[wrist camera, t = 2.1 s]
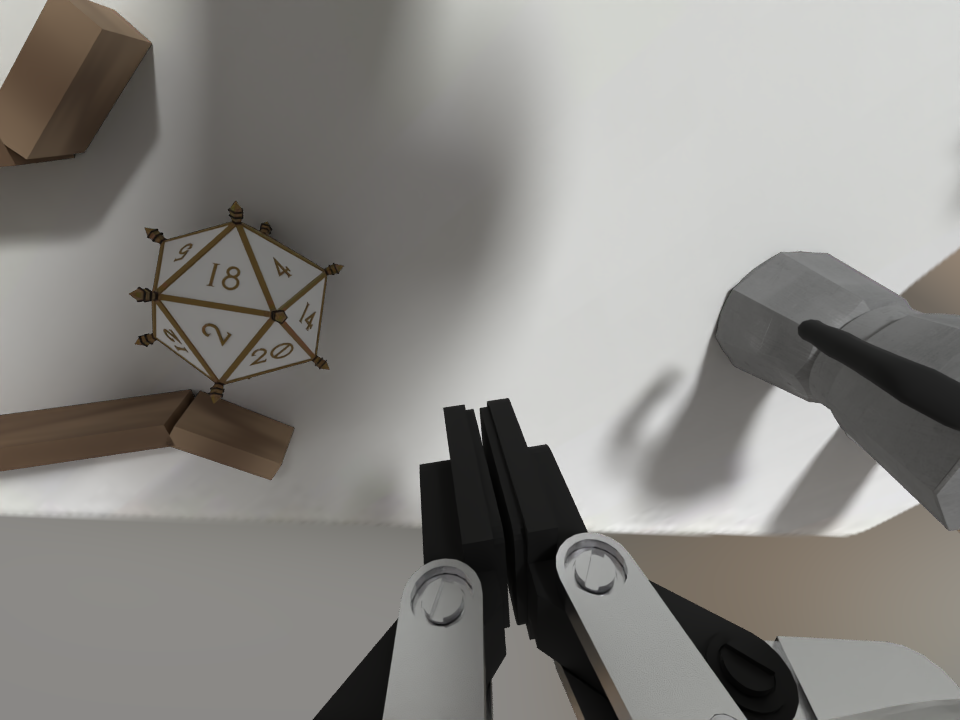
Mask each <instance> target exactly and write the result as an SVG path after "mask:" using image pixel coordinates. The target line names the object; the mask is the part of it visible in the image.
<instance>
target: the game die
mask: <svg viewBox="0 0 960 720" xmlns="http://www.w3.org/2000/svg"><path fill="white" fill-rule="evenodd" d="M228 211H230V214H229V216H230V217H231V219H232V222H228V223H225V224H221V225H218V226H214V227H210V228H207V229H203V230H199V231H196V232H192V233H189V234H185V235H181V236H178V237H174V238H170V239H165V238H164V236H163V233H160V232H159V231H158V229H150V228H145V227H144V228H145V230H146V233H147V238H150V239H152V241H153V242H157V243H159V244H160V251H159V256H158V262H157V268H156V273H155V279H154V285H153V291H150V290H149V289H148V288H145V289H142V288H141V287H138V288H137V290H135V291H133V292H131V293H129V295H131V296H132V297H133V298H135V299H136V300H137V302H142V301H144V302H149V301H152V327H153V333H152V334H144V335H142V336H138V337H139V338H138V340H137V341H136V343H135V344H137V345H144V346H146V347H148V345H149V344H151V345H152V344H153V342H154V341H156V340H158V341H159V342H161V343H162V344H163V345H165V346H166V347H168V348H169V349H170V350H172V351H173V352H174V353H176V354H177V355H178V356H180V357H181V358H182V359H184V360H185V361H186V362H188V363H189V364H190V365H192V366H193V367H194V368H196V369H197V370H198V371H200V372H201V373H203V374H204V375H205V376H207V377H208V378H209V379H211V380H212V381H213V382H215V385H214V386H213V387H212V388H210V389H211V392H210V393H208V394H209V395H210V396H211V399H212V401H213V403H215V402H216V401H218V400H219V399H220V398H222V397H223V394H222V393H223V392H224V389H223V385H225V384H229V383H233V382H236V381H240V380H244V379H247V378H248V379H250V378H251V377H254V376H258V375H262V374H265V373H269V372H273V371H276V370H280V369H284V368H287V367H291V366H294V365H298V364H302V363H305V362H309V361H313V362H314V363H315V366H318V367H319V369H328V370H330V369H329V367H328V364H327V362H326V361H327V360H326V361H325V360H324V359H323V358H320V357H318V356H317V350H318V342H319V335H320V327H321V320H322V312H323V305H324V297H325V290H326V282H327V276H328V275H334V274H336V273H337V274H339V272H340V270H341V269H342V268H343V267H344V266H342V265H338V264H334V263H333V265H329V267H327V268H326V269H323V268H322V267H320V266H318V265H317V264H315V263H313V262H312V261H310V260H308V259H307V258H305V257H303V256H301V255H300V254H298V253H296V252H295V251H293V250H291V249H290V248H288V247H286V246H285V245H283V244H281V243H280V242H278V241H276V240H275V239H273V238H271V237H269V236H268V234H271V232H270V231H271V230H272V228H271V227H270V225H269V223H268V221H267V222H265V223H261V226H260V231H258V230H256V229H255V228H253V227H251V226H249V225H247V224H245V223H243V222H241V221H242V219H243V209H242V208H241V207H240V206H239V205H238V203H237V202H236V201H235V202H234V204H233V205H232V206H231V208H229V209H228Z"/></svg>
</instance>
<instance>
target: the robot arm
mask: <svg viewBox="0 0 960 720" xmlns="http://www.w3.org/2000/svg"><path fill="white" fill-rule="evenodd" d="M443 409H444V417H445V424H446V431H447V439H448V446H449V453H450V460H446V461H439V462H433V463H427V464H421V465H420V490H421V512H422V533H423V554H424V565H423V566H422V567H420V568H419V569H418V570H417V571H416V572H415V573H414V574H413V575H412V576H411V577H410V579H409V581H408V582H407V584H406V585H405V588H404V591H403V594H402V598H401V605H400V611H399V617H398V619H397V620H396V621H395V623H394V624H393V625H392V626H391V627H390V629H389V630H388V631H387V632H386V633H385V634H384V636H383V637H382V638H381V639H380V640H379V642H378V643H377V644H376V645H375V646H374V647H373V649H372V650H371V651H370V652H369V653H368V655H367V656H366V657H365V658H364V659H363V661H362V662H361V663H360V664H359V665H358V666H357V668H356V669H355V670H354V671H353V672H352V674H351V675H350V676H349V677H348V678H347V680H346V681H345V682H344V683H343V684H342V685H341V687H340V688H339V689H338V690H337V692H336V693H335V694H334V695H333V696H332V697H331V698H330V700H329V701H328V702H327V703H326V704H325V706H324V707H323V708H322V709H321V710H320V712H319V713H318V714H317V715H316V716H315V718H314V719H313V720H493V696H492V695H493V693H492V678H493V676H494V674H495V673H496V671H497V669H498V668H499V666H500V664H501V663H502V661H503V659H504V657H505V656H506V644H505V630H504V628H507V627H510V620H509V603H508V588H509V593H510V597H511V601H512V606H513V610H514V615H515V619H516V623H517V625H522V624H526V626H527V630H528V634H529V638H530V640H531V639H535V640H536V644H537V648H538V649H540V650H541V651H542V652H544V653H545V654H547V655H548V656H550V657H551V658H552V659H553V660H554V664H555V667H556V670H557V673H558V675H559V677H560V680H561V682H562V684H563V687H564V689H565V692H566V694H567V696H568V699H569V701H570V703H571V706H572V708H573V711H574V713H575V715H576V718H577V720H960V688H959V687H958V685H956V683H955V682H954V681H953V680H952V679H951V678H950V677H949V676H948V675H947V674H946V673H945V672H944V670H943V669H941V668H940V667H939V666H937V665H936V664H935V663H933V662H932V661H931V660H929V659H928V658H927V657H925V656H924V655H923V654H920V653H918V652H916V651H914V650H912V649H910V648H908V647H906V646H904V645H900V644H895V643H890V642H882V641H863V640H843V639H825V638H824V639H823V638H803V637H786V636H785V637H784V636H777V637H776V639H775V641H763V640H762V639H760V638H759V637H757V636H755V635H754V634H753V633H751V632H749V631H747V630H745V629H743V628H741V627H739V626H737V625H735V624H733V623H731V622H729V621H727V620H725V619H724V618H722V617H720V616H718V615H716V614H714V613H712V612H710V611H708V610H706V609H704V608H702V607H700V606H698V605H696V604H694V603H693V602H691V601H688V600H687V599H685V598H683V597H681V596H679V595H677V594H675V593H673V592H671V591H669V590H667V589H665V588H663V587H661V586H659V585H657V584H655V583H654V582H651V581H650V580H648V579H647V578H646V576H645V575H644V573H643V572H642V571H641V569H640V568H639V566H638V565H637V564H636V562H635V561H634V559H633V558H632V557H631V555H630V554H629V553H628V552H627V550H625V548H624V547H623V546H622V545H621V544H620V543H618V542H616V541H615V540H613V539H612V538H610V537H607V536H605V535H602V534H599V533H588V532H587V529H586V527H585V525H584V523H583V520H582V518H581V516H580V514H579V512H578V509H577V507H576V505H575V503H574V500H573V498H572V496H571V494H570V492H569V489H568V487H567V485H566V483H565V480H564V478H563V476H562V474H561V472H560V469H559V467H558V465H557V463H556V460H555V458H554V456H553V454H552V452H551V450H550V448H549V446H548V445H547V444H545V445H539V446H533V447H527V444H526V442H525V439H524V436H523V434H522V431H521V429H520V426H519V423H518V421H517V418H516V416H515V413H514V410H513V408H512V405H511V402H510V400H509V399H508V398H505V399H499V400H492V401H487V407H483V408H480V419H481V431H482V441H481V437H480V433H479V429H478V425H477V421H476V417H475V413H474V409H470V410H466V409H465V405H458V406H451V407H445V408H443ZM482 443H483V445H482ZM507 584H508V586H507Z"/></svg>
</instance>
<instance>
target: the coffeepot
mask: <svg viewBox="0 0 960 720" xmlns="http://www.w3.org/2000/svg"><path fill="white" fill-rule="evenodd" d="M715 337H716V339H717V340H718V342H719V344H720V346H721V348H722V350H723V351H724V352H725V353H726V354H727V356H728V357H729V359H730V360H731V362H732V364H733V365H734V366H735V367H737V368H739V369H741V370H743V371H745V372H747V373H750V374H752V375H754V376H756V377H758V378H760V379H762V380H764V381H766V382H768V383H770V384H773V385H775V386H777V387H779V388H781V389H783V390H785V391H787V392H789V393H791V394H793V395H796V396H798V397H800V398H802V399H804V400H806V401H808V402H815V403H821V404H823V405H824V406H826V407H827V408H829V409H830V410H831V412H832V414H833V415H834V417H835V419H836V421H837V422H838V424H839V425H840V427H841V428H842V429H843V430H844V431H845V432H846V433H847V434H849V435H850V436H851V437H852V438H853V439H854V440H855V441H856V442H857V443H858V444H859V445H860V446H861V447H862V448H863V449H864V450H865V451H866V452H867V453H868V454H869V455H870V456H872V457H873V458H874V459H875V460H876V461H877V462H878V463H879V464H880V465H881V466H882V467H883V468H884V469H885V470H886V471H887V472H888V473H889V474H890V475H891V476H892V477H893V478H895V479H896V480H897V481H898V482H899V483H900V484H901V485H902V486H903V487H904V488H905V489H906V490H907V491H908V492H909V493H910V494H911V495H912V496H913V497H914V498H915V499H916V500H918V501H919V502H920V503H921V504H922V505H923V506H924V507H925V508H926V509H927V510H928V511H929V512H930V513H931V514H932V515H933V516H934V517H935V518H936V519H937V520H938V521H939V522H941V523H942V524H943V525H944V526H945V528H946V529H948V530H949V531H951V530H960V316H959V315H954V314H924V313H921V312H919V311H917V310H914V309H912V308H911V306H910V305H909V303H908V302H907V300H906V299H905V298H903V297H901V296H900V295H898V294H896V293H894V292H893V291H891V290H889V289H888V288H886V287H884V286H883V285H881V284H879V283H877V282H876V281H874V280H872V279H871V278H869V277H867V276H866V275H864V274H862V273H860V272H859V271H857V270H855V269H854V268H852V267H850V266H849V265H847V264H845V263H843V262H842V261H840V260H838V259H837V258H835V257H833V256H832V255H830V254H828V253H812V252H801V251H800V252H780V253H779V254H777V255H775V256H774V257H772V258H770V259H769V260H767V261H765V262H764V263H762V264H761V265H759V266H758V267H756V268H755V269H753V270H752V271H751V272H750V273H749V274H747V275H746V276H745V277H744V278H743V279H742V280H741V281H740V282H739V283H738V285H737V286H736V287H735V288H733V290H732V291H731V293H730V295H729V296H728V298H727V300H726V302H725V304H724V306H723V308H722V310H721V313H720V317H719V321H718V329H717V333H716V336H715Z"/></svg>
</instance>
